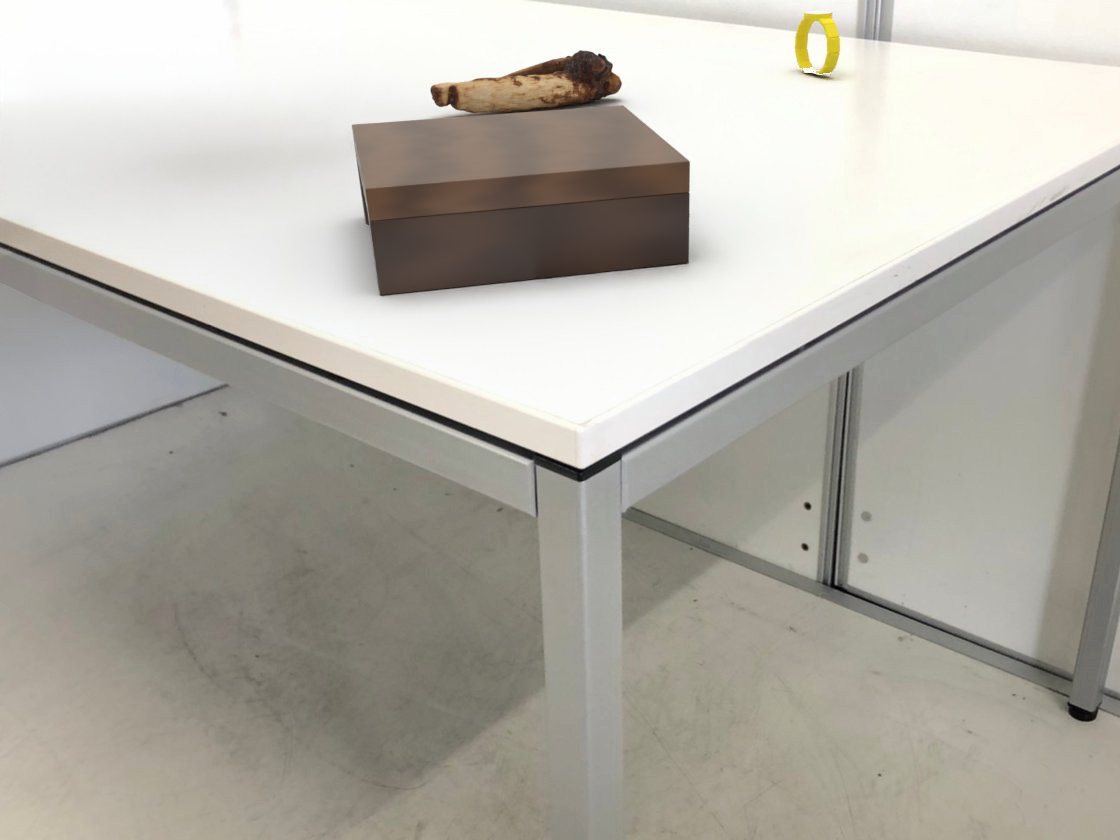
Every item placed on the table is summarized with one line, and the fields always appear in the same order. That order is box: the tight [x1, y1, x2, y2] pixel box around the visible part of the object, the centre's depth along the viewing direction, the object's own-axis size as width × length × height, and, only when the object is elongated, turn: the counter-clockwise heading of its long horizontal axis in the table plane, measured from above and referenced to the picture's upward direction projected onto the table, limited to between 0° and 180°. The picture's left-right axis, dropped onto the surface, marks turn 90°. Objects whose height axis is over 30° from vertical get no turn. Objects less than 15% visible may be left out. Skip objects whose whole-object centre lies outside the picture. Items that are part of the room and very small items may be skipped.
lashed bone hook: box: [430, 49, 623, 114], centre depth 101 cm, size 9×5×18 cm
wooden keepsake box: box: [351, 104, 691, 296], centre depth 68 cm, size 18×15×6 cm
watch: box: [794, 10, 841, 74], centre depth 112 cm, size 6×3×6 cm, turn 27°
